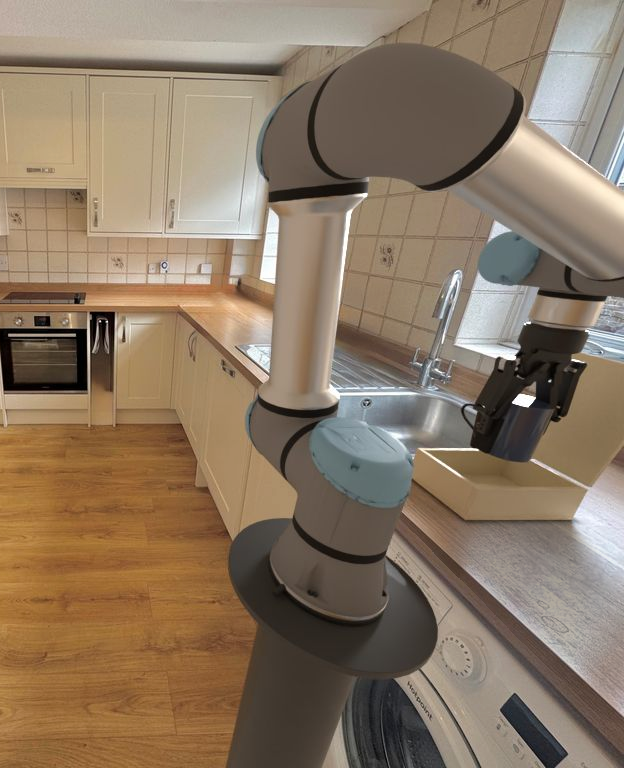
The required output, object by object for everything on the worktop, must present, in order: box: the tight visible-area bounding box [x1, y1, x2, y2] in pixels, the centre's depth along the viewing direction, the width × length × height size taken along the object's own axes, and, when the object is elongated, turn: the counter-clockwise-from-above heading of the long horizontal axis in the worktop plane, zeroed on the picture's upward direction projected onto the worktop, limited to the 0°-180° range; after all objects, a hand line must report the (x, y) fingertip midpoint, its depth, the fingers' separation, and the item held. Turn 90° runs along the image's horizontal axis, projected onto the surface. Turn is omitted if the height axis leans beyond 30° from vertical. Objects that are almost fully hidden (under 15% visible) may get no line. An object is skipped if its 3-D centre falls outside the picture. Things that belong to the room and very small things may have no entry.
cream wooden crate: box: [412, 447, 589, 521], centre depth 76 cm, size 20×14×6 cm
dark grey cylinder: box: [489, 393, 555, 463], centre depth 71 cm, size 8×8×10 cm
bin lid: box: [531, 351, 624, 488], centre depth 71 cm, size 20×14×1 cm
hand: (502, 449), depth 73 cm, fingers closed on dark grey cylinder, 8 cm apart
